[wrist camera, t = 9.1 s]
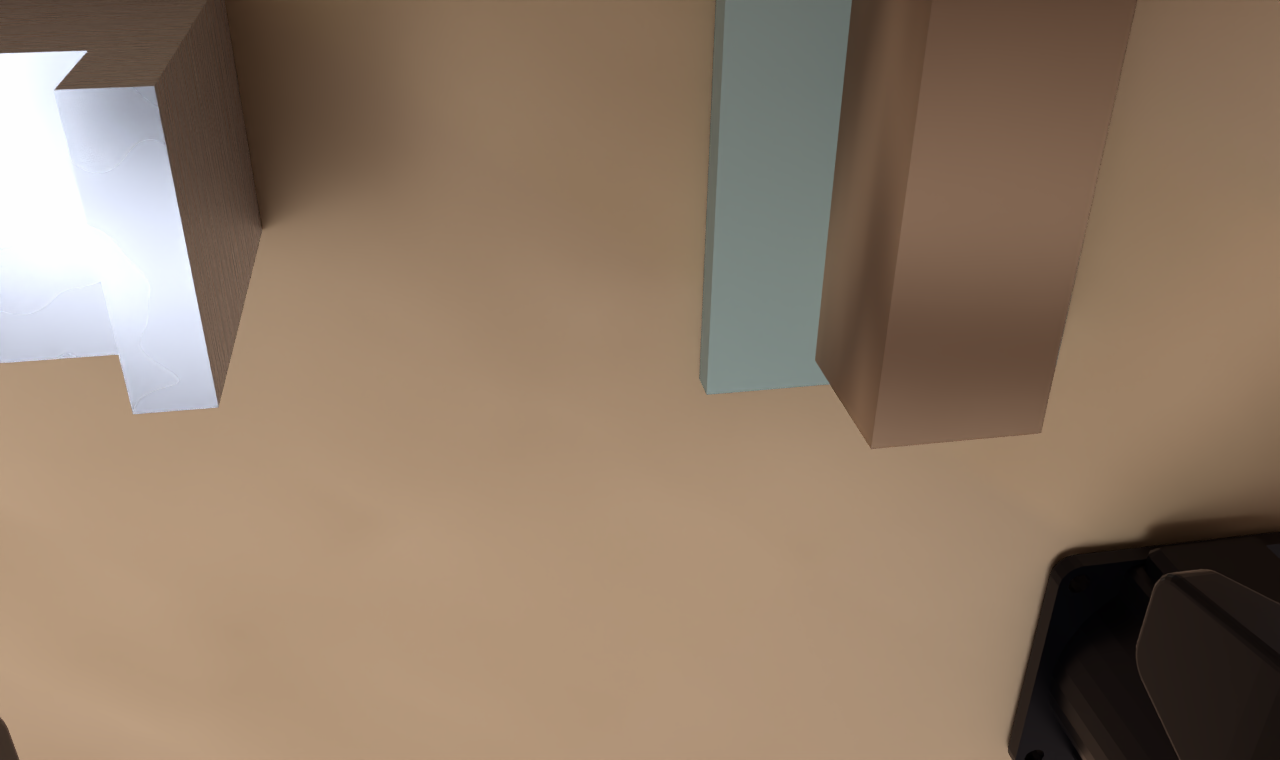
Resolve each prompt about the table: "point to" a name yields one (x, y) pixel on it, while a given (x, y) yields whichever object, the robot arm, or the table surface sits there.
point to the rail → (962, 208)
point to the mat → (770, 189)
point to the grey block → (125, 192)
